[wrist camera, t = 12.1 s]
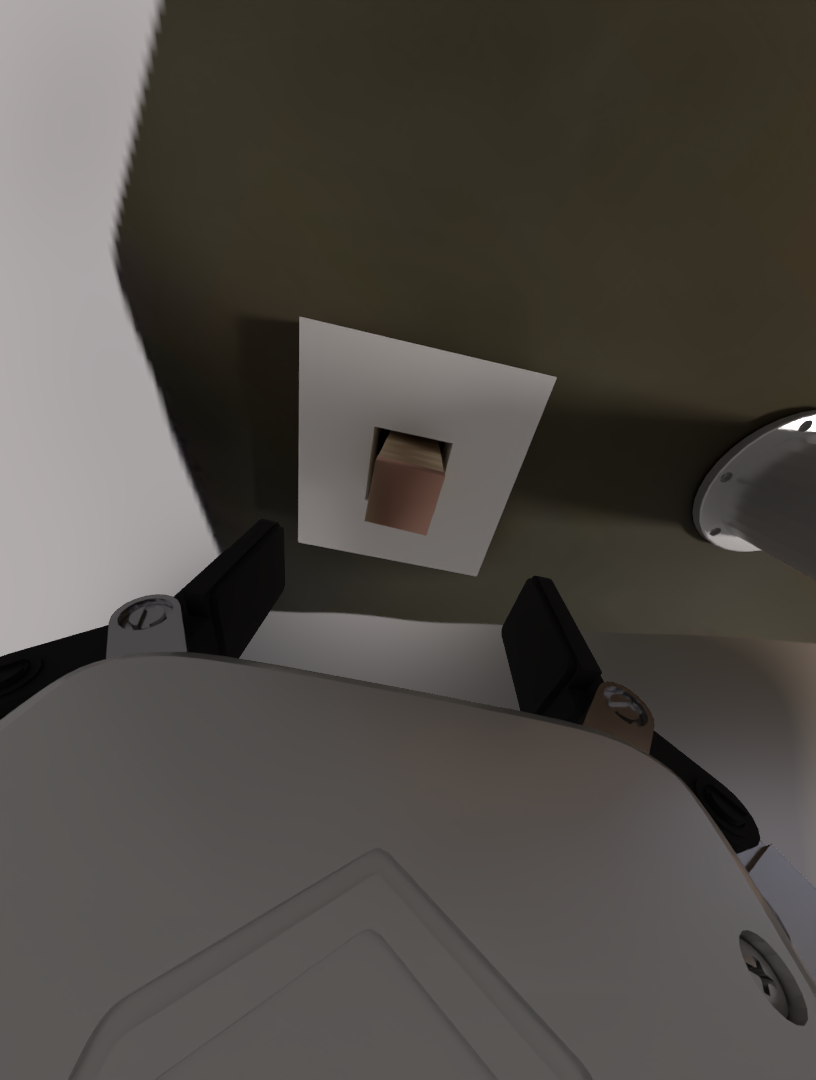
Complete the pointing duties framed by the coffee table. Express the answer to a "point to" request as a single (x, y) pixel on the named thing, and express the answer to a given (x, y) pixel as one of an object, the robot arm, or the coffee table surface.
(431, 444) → the maple peg
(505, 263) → the coffee table surface
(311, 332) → the socket block
